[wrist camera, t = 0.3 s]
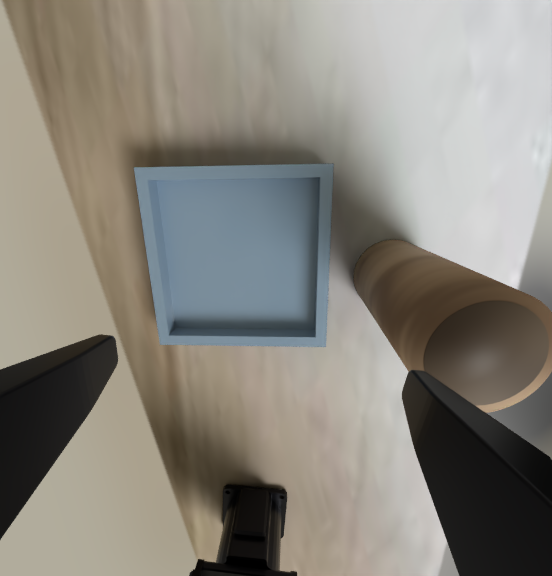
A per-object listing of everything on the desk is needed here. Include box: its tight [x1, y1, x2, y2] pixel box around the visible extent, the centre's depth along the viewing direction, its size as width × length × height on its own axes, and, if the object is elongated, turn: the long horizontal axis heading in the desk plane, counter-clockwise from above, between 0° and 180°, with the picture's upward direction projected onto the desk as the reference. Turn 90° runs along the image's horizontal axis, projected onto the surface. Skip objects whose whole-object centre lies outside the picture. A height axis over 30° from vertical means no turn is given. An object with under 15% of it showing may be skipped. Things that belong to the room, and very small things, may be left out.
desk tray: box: [134, 164, 334, 347], centre depth 22 cm, size 13×13×2 cm
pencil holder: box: [353, 240, 552, 413], centre depth 17 cm, size 6×6×12 cm
